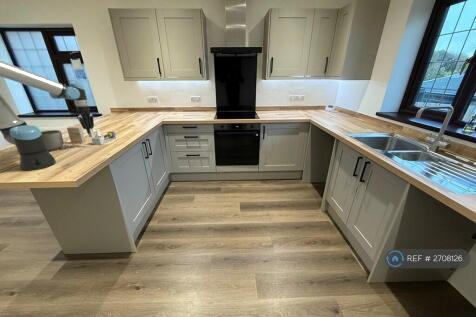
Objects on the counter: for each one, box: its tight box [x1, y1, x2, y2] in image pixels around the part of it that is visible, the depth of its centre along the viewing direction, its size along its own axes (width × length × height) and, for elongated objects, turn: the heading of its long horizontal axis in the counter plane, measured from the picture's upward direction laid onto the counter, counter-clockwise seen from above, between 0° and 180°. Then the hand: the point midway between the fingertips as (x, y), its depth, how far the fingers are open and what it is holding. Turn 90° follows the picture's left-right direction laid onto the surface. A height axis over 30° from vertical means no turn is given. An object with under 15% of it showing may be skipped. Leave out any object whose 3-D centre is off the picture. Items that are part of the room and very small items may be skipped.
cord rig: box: [90, 131, 117, 146], centre depth 163 cm, size 20×8×6 cm, turn 175°
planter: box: [41, 129, 64, 152], centre depth 141 cm, size 14×14×13 cm
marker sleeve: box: [94, 129, 106, 142], centre depth 157 cm, size 3×5×9 cm, turn 85°
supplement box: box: [66, 125, 86, 144], centre depth 157 cm, size 8×5×13 cm, turn 105°
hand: (91, 137), depth 149 cm, fingers closed
